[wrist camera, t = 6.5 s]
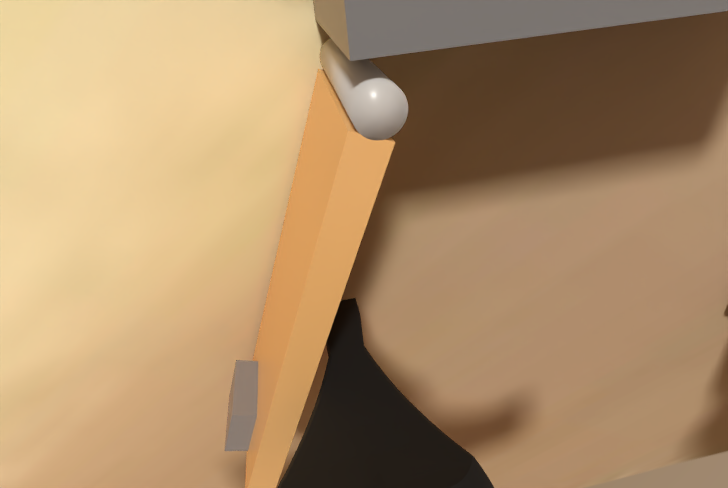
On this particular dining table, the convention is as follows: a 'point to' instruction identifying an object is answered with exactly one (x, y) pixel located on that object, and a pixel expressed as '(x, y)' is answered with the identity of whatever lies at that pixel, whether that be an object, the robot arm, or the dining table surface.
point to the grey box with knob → (479, 20)
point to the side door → (313, 254)
